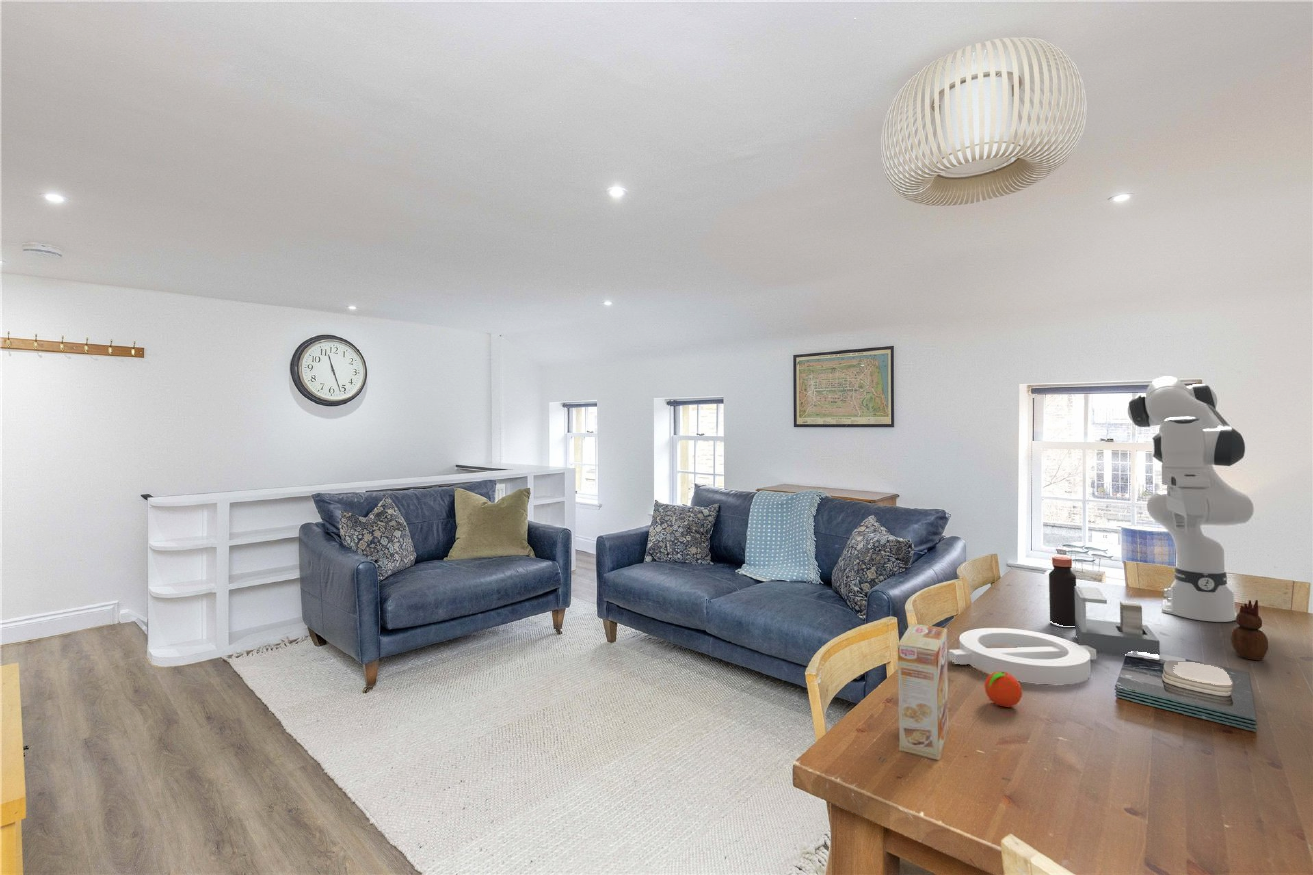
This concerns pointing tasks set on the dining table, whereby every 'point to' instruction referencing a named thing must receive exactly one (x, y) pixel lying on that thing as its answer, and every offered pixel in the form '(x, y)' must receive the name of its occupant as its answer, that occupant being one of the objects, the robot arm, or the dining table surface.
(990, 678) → the clementine
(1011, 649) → the ring with crossbar
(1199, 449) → the robot arm
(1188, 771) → the dining table surface
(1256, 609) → the wooden figurine
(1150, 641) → the socket block
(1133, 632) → the peg
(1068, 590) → the bottle
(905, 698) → the coffeecake box
